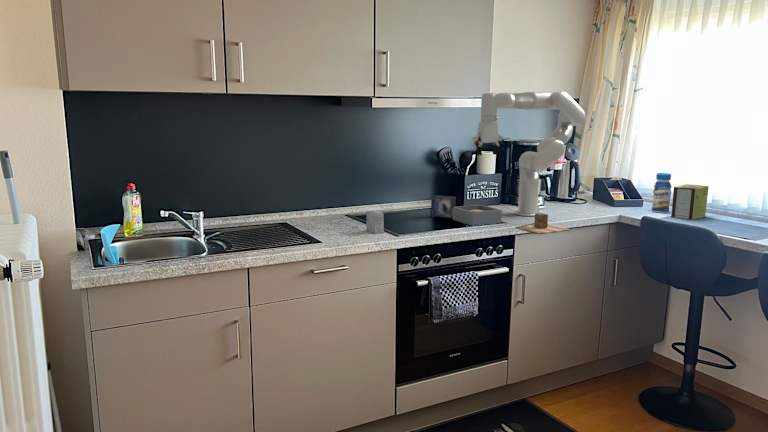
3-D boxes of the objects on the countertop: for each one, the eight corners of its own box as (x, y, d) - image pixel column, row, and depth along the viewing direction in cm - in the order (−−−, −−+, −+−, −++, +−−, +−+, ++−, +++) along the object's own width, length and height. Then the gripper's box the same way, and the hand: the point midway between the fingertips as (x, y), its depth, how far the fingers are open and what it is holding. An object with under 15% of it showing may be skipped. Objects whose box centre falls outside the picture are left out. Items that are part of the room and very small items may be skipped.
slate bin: (480, 218, 280) (480, 204, 278) (501, 224, 265) (501, 209, 264) (452, 221, 272) (452, 206, 271) (472, 227, 258) (472, 212, 257)
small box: (430, 218, 281) (430, 196, 279) (435, 215, 287) (435, 194, 285) (450, 220, 276) (451, 198, 275) (455, 217, 282) (456, 196, 280)
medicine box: (383, 233, 247) (384, 213, 245) (374, 234, 245) (374, 213, 243) (375, 229, 254) (375, 210, 252) (366, 230, 251) (366, 211, 250)
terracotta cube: (475, 219, 272) (476, 209, 271) (484, 221, 269) (484, 210, 268) (468, 220, 269) (469, 210, 268) (477, 222, 265) (477, 211, 264)
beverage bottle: (671, 211, 303) (675, 173, 299) (665, 213, 297) (669, 174, 293) (654, 209, 308) (658, 172, 305) (648, 211, 303) (652, 173, 299)
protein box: (705, 216, 289) (709, 186, 287) (692, 220, 280) (695, 188, 277) (684, 213, 297) (687, 183, 294) (670, 217, 288) (673, 186, 285)
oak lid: (542, 224, 270) (543, 209, 269) (570, 232, 254) (571, 215, 253) (511, 228, 262) (512, 212, 261) (538, 235, 246) (539, 219, 245)
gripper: (498, 118, 286) (496, 153, 289) (469, 119, 279) (468, 154, 282) (507, 119, 280) (506, 154, 283) (478, 119, 272) (477, 155, 275)
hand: (487, 154), depth 282 cm, fingers open, 9 cm apart
